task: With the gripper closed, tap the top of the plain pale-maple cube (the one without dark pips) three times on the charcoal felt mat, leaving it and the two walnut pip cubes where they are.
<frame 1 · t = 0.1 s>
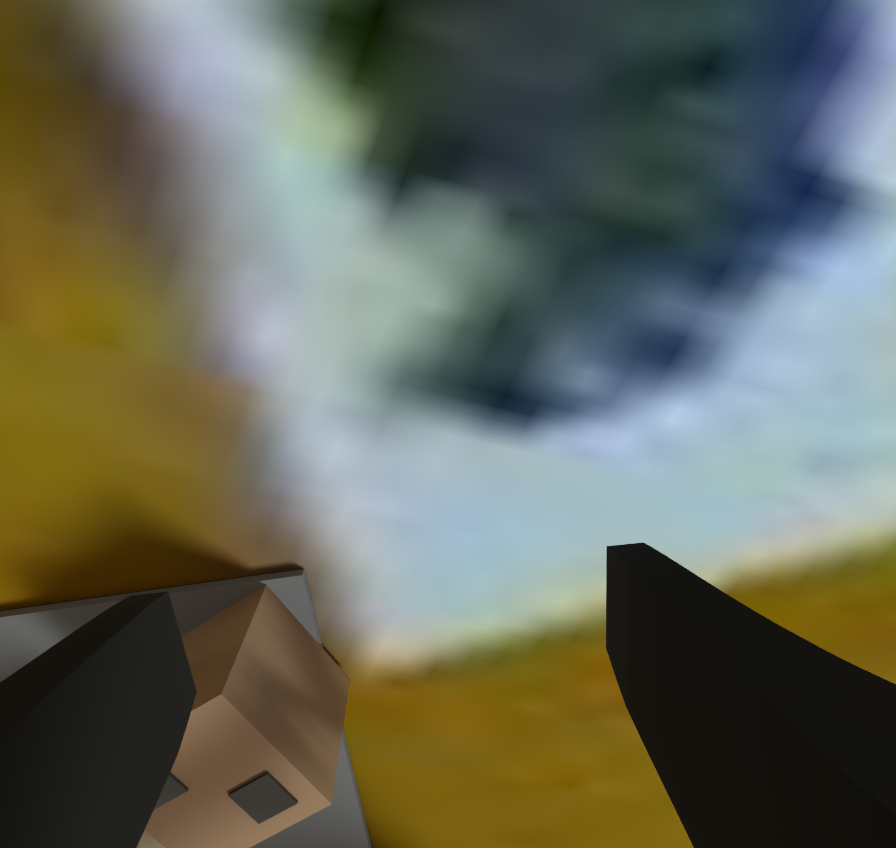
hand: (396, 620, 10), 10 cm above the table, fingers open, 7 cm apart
felt mat: (118, 761, 23), on the table
pip block two: (254, 665, 21), resting on felt mat
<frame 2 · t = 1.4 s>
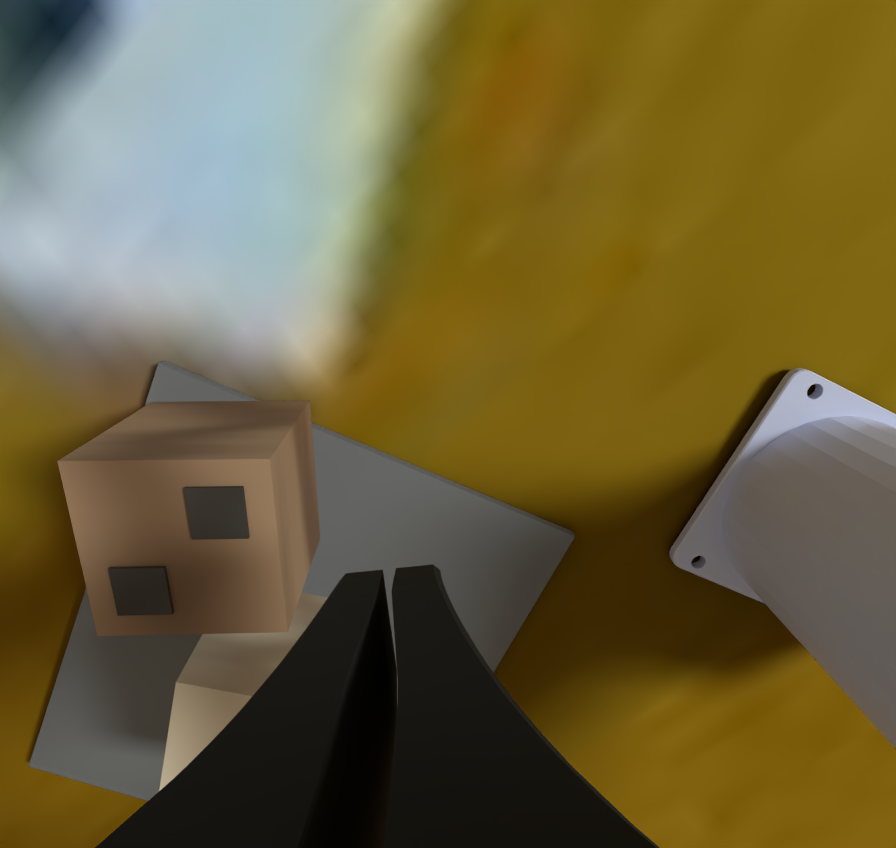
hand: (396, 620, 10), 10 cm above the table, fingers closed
felt mat: (288, 650, 22), on the table
plain block: (290, 648, 22), resting on felt mat
pip block two: (240, 472, 19), resting on felt mat
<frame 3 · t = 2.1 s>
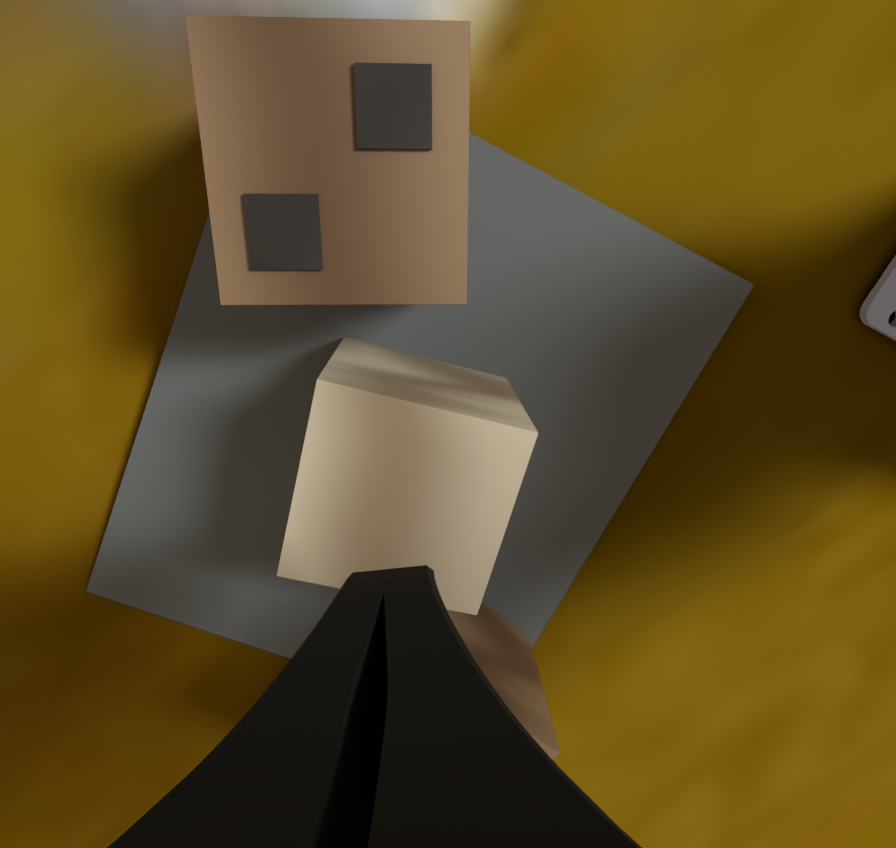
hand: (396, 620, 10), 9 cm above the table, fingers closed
felt mat: (400, 442, 19), on the table
plain block: (406, 433, 18), resting on felt mat
pip block two: (361, 187, 16), resting on felt mat
pip block one: (429, 644, 21), resting on felt mat
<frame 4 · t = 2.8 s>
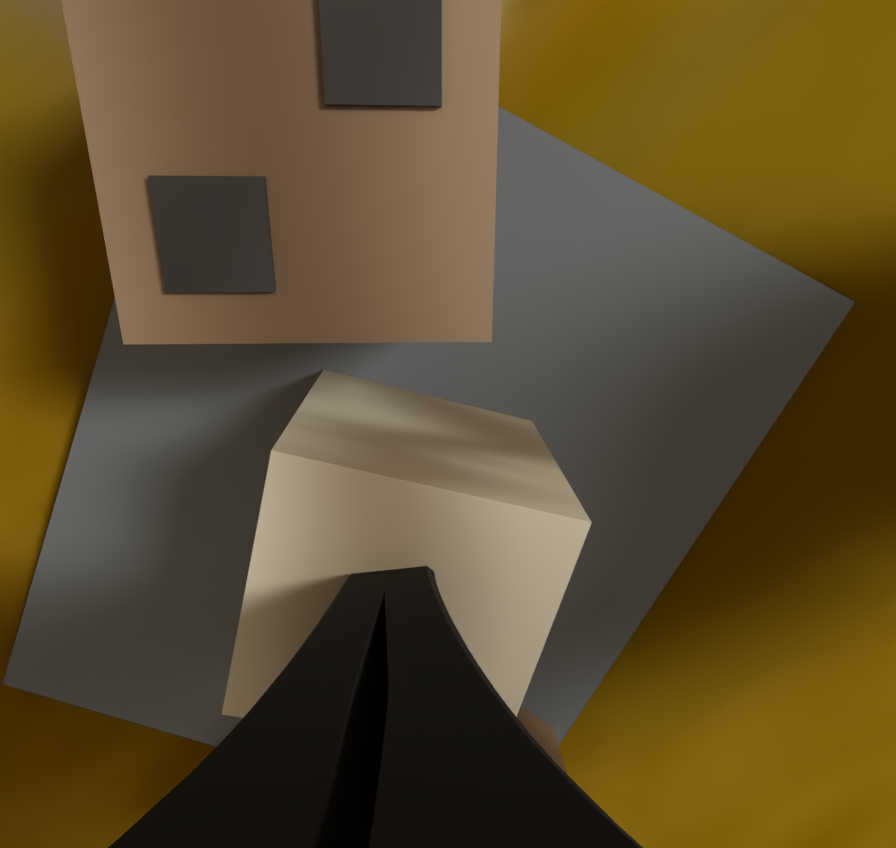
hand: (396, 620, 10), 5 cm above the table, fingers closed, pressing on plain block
felt mat: (396, 500, 15), on the table
plain block: (404, 490, 14), resting on felt mat, touching gripper
pip block two: (343, 175, 12), resting on felt mat
pip block one: (433, 741, 17), resting on felt mat
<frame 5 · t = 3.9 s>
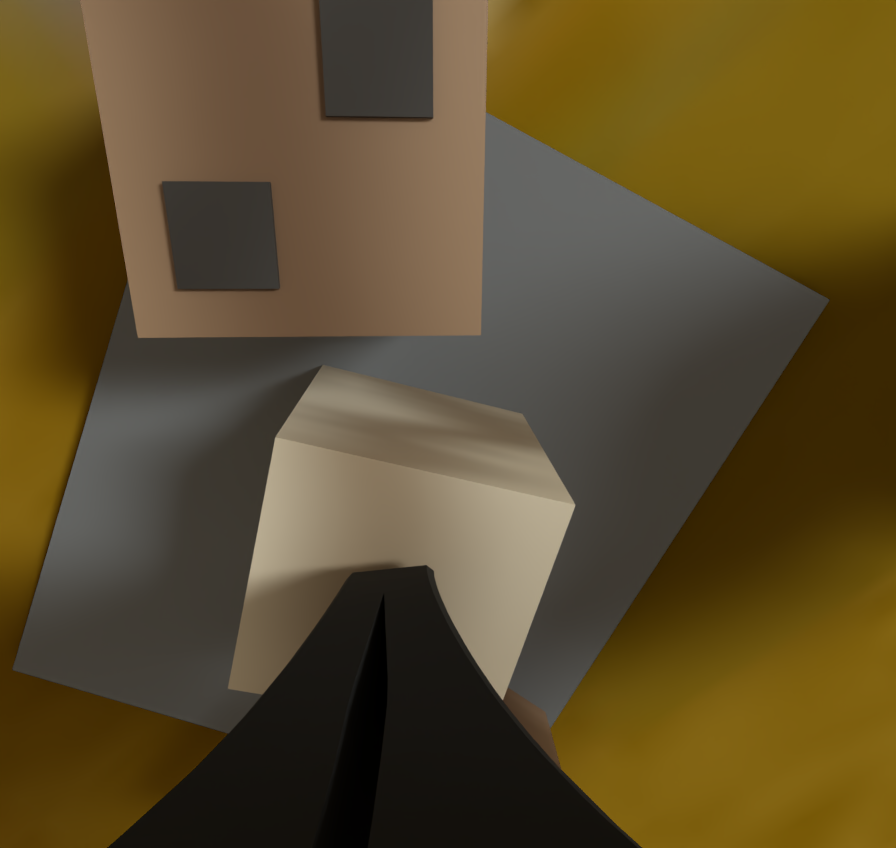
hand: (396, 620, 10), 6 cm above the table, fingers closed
felt mat: (393, 490, 15), on the table
plain block: (400, 481, 15), resting on felt mat
pip block two: (342, 179, 12), resting on felt mat
pip block one: (429, 725, 17), resting on felt mat
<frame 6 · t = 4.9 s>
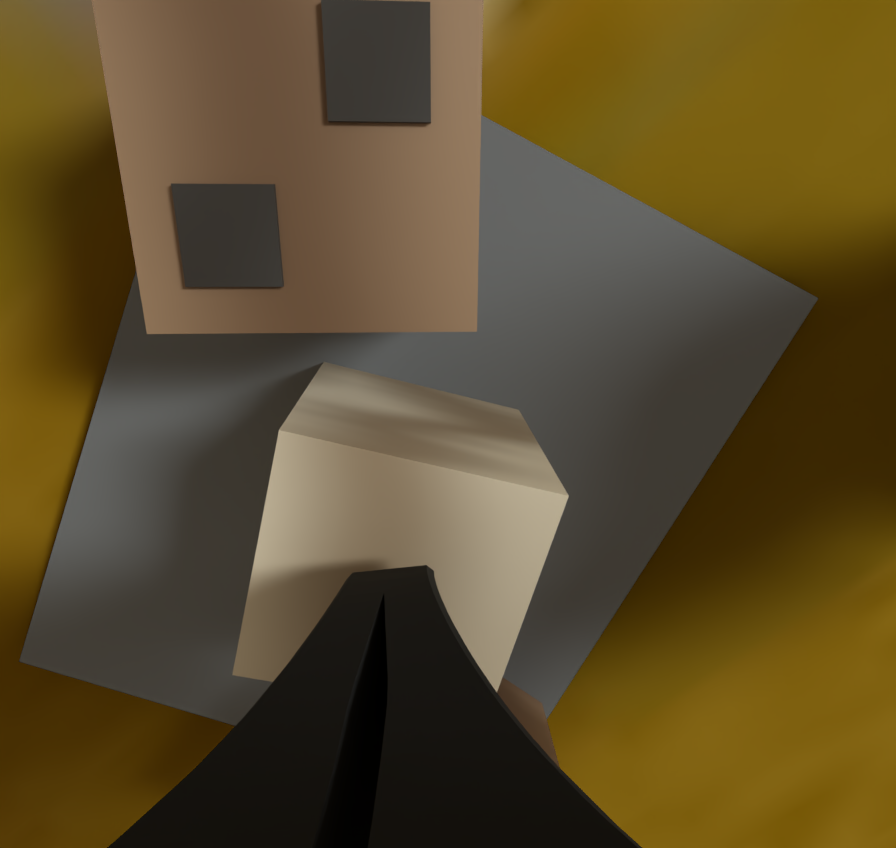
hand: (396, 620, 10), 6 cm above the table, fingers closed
felt mat: (392, 485, 16), on the table
plain block: (399, 476, 15), resting on felt mat
pip block two: (342, 180, 13), resting on felt mat
pip block one: (427, 716, 18), resting on felt mat
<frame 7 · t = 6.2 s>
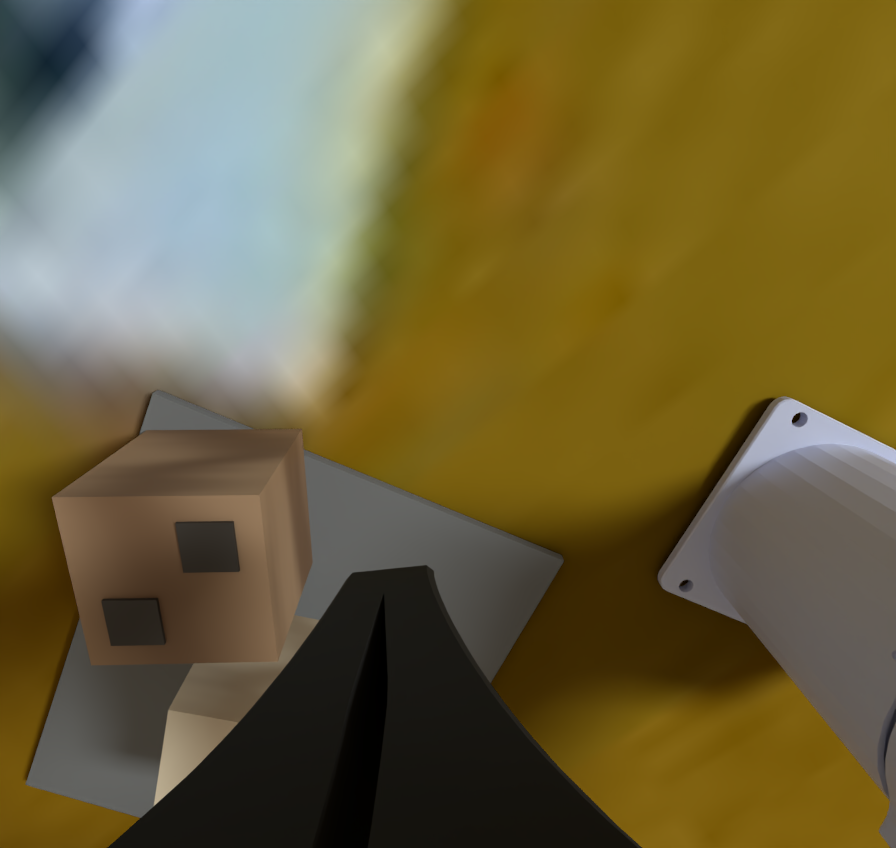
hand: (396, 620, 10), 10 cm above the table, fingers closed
felt mat: (281, 671, 22), on the table
plain block: (284, 669, 22), resting on felt mat
pip block two: (233, 499, 20), resting on felt mat
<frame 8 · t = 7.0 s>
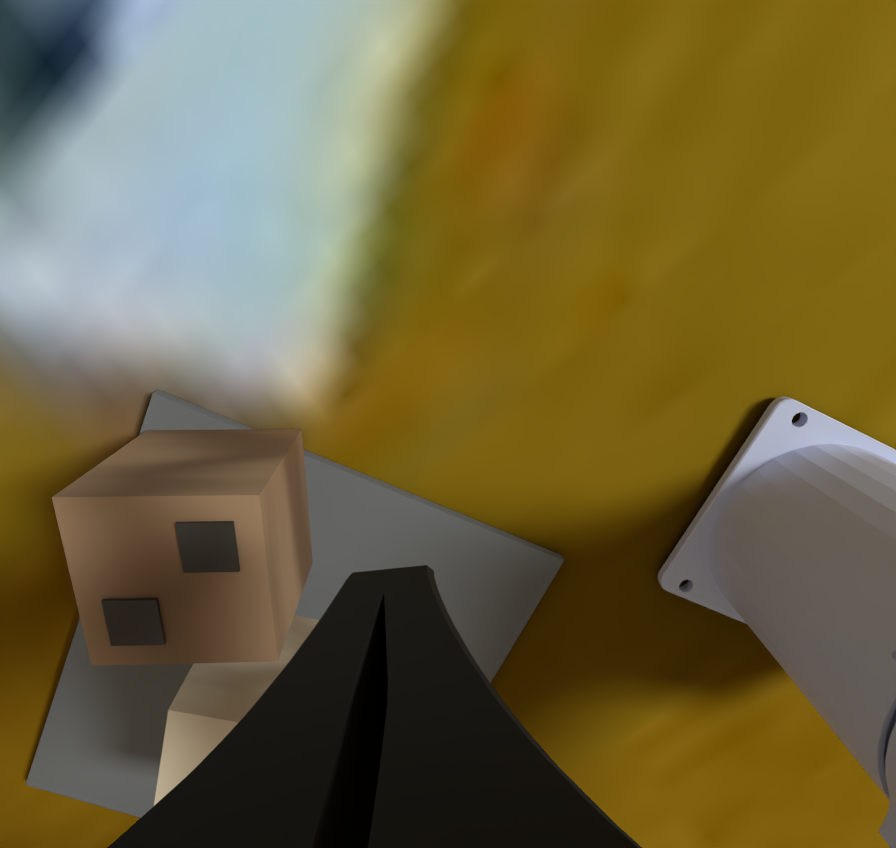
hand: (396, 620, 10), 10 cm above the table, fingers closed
felt mat: (281, 671, 22), on the table
plain block: (284, 669, 22), resting on felt mat
pip block two: (233, 499, 20), resting on felt mat
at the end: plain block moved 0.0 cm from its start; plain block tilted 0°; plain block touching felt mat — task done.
